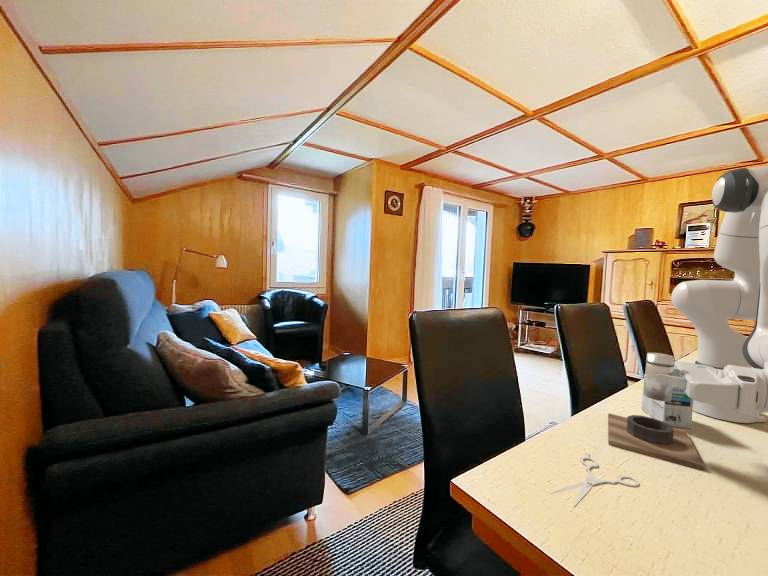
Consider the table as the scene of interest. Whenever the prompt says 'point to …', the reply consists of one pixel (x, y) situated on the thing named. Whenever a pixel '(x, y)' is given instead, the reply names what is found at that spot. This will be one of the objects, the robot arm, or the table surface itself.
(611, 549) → the table surface
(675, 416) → the light bulb box
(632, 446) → the ring collar board
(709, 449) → the table surface
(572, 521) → the table surface
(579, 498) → the scissors
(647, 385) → the cylinder
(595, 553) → the table surface
